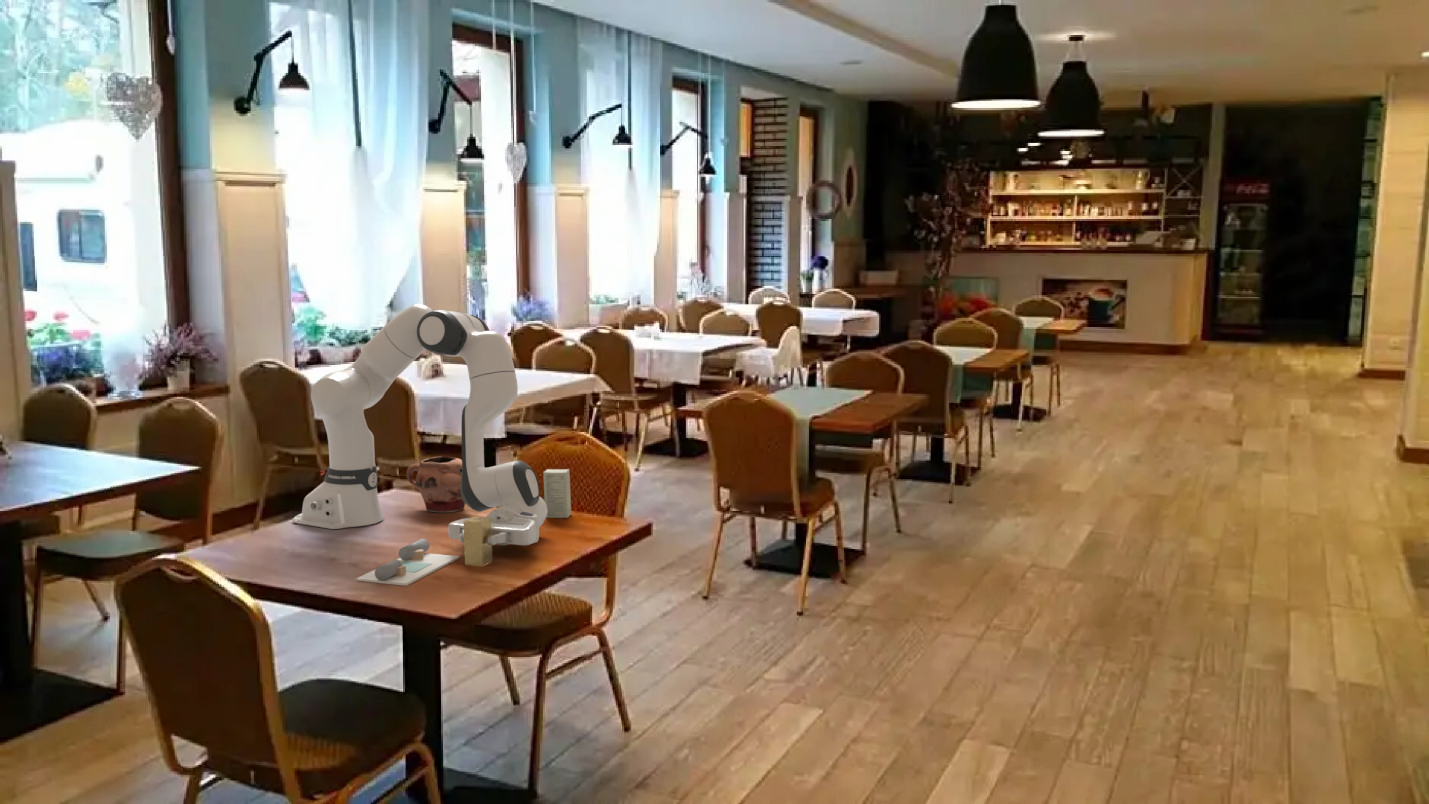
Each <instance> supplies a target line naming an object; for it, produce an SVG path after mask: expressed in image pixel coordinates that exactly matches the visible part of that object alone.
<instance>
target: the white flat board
mask: <svg viewBox="0 0 1429 804" xmlns="http://www.w3.org/2000/svg"><path fill="white" fill-rule="evenodd" d="M429 549H430V543H429V541H428V540H427V539H426V538H421V539H418V540H416V541H414V542H412V543H409V544H407V545H405V546H403V547H401V548H400V549H399V550H398V556H399V558H397V559H393V560H391V561H389V562H386V563H384V564H382V565H379V566H378V567H376V569H373V570H371V571H369V572H367V573H365V574H363V575H361V576H359V577H357V578H356V581H358V582H365V583H366V582H367V583H378V584H385V585H386V584H387V585H394V586H409V585H411V584H413V583H414V582H417V581H419V580H420V579H422V578H424V577H426V576H429V575H430V574H433V572H436V571H438V570H440V569H442V568H444V567H445V566H448V565H450V564H452V563H453V562H455V561H457V560H459V559H460V556H459V555H449V554H440V553H428V552H427V551H428V550H429ZM425 552H426V553H425ZM449 563H450V564H449Z"/></svg>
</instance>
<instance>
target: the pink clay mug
mask: <svg viewBox="0 0 1429 804" xmlns="http://www.w3.org/2000/svg"><path fill="white" fill-rule="evenodd" d="M414 472H417V474H416V476H415V482H414V480H413V478H412V475H413V473H414ZM405 474H406V479H407V481H408V482H409V483H410V484H411V485H412V486H414V487H415V488H416V489H417V491H419V493H420V495H421V497H422V499H423V502H424V504H425V509H426V510H427V511H429V512H433V513H452V512H453V513H454V512H458V511H461V510H463V509H465V506H466V504H465V503H464V501H463V500H462V497H461V493H460V484H461V477H462V458H457V457H450V456H434V457H428V458H426V459H422V460H421V461H420V462H419V463H412V464H411V465H409V466H408V468H407V470H406V473H405Z"/></svg>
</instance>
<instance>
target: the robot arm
mask: <svg viewBox="0 0 1429 804" xmlns="http://www.w3.org/2000/svg"><path fill="white" fill-rule="evenodd" d="M426 350H427V351H429V352H430V353H432V354H435V355H442V356H446V357H452V358H454V357H460V358H462V359H463V360H464V363H465V364H466V366H467V373H468V377H469V378H468V380H469V385H470V389H469V390H470V391H469V397H468V400H467V403H466V404H465V406H464V407H463V409H462V410H461V411H462V413H461V460H462V477H461V484H460V493H461V497H462V500H463V501H464V503H465V506H467V507H469V508H470V509H472V510H473V511H475V512H478V513H481V512H483V511H484V512H485V511H487V510H490V509H492V510H491V511H490V512H489V513H488V514H487V516H486V518H491V530H492V535H490V536H488V537H487V540H488V542H487V544H489V545H492V546H495V545H499V546H503V547H504V546H509V545H514V546H516V545H517V546H530V545H531V544H535V543H538V541H539V539H540V538H539V536H540V527H541V526H542V525H543V524H544V523H545V521H546V519H547V518H546V516H547V506H546V503H545V499H544V498H543V497H541V495H540V494H541V490H540V489H541V488H540V483H539V479H538V476H537V473H536V472H535V471H534V469H533V468H532V467H531V466H530V465H529V464H527V462H524V461H523V460H521V459H520V460H514V461H509V462H505V463H501V464H497V465H493V466H489V467H485V453H484V452H485V446H484V445H485V444H484V442H485V440H484V439H485V438H484V437H485V432H486V430H487V428H488V426H490V424H491V423H492V422H494V420H495V419H497V418H498V417H500V416H501V415H503V414H504V413H505V412H507V410H509V409H510V408H511V407H512V405H513V404H514V402H515V401H516V399H517V396H518V388H519V387H518V380H517V374H516V368H515V364H514V361H513V357H512V353H511V350H510V347H509V345H508V343H507V340H506V337H505V336H504V335H503V334H501V333H500V332H497V331H494V330H490V329H489V326H488V325H487V324H486V322H485V321H484V320H483V319H481V318H480V317H478V316H476V315H473V314H468V313H465V312H462V311H456V310H455V311H454V310H453V311H452V310H446V309H445V310H444V309H436V310H433V309H432V308H431V307H430V306H427V305H426V304H422V303H414V304H412V305H410V306H408V307H407V308H405V309H404V310H402V311H401V312H399V313H398V314H397V315H395V316H394V317H393V318H392V319H391V320H389V322H388V323H386V324H385V325H384V326H383V327H381V329H380V330H379V331H378V332H377V333H376V334H375V335H373V337H372V338H370V339H369V340H368V341H367V342H366V343H365V344H364V346H363V348H362V351H361V353H360V354H359V355H358V357H357V359H356V360H355V361H354V362H353V363H352V364H351V365H350V366H348V367H346V368H344V369H341V370H338V371H334V372H330V373H327V374H325V375H324V376H322V377H321V378H320V379H319V380H317V381H316V382H315V383H314V384H313V386H312V387H311V391H310V399H311V403H312V405H313V408H314V409H315V410H316V411H318V413H319V414H320V416H321V418H322V422H323V424H324V428H325V431H326V435H327V442H328V443H327V444H328V445H327V446H328V456H329V457H328V458H329V460H328V461H329V466H328V467H327V468H325V469H323V470H320V471H319V472H320V476H323V475H324V479H323V482H321V483H320V484H319V485H318V486H317V487H316V488H314V489H313V490H312V491H311V492H309V493H308V494H307V495H306V496H305V497H304V498H303V502H302V508H301V509H302V510H301V513H299V514H297V515H295V516H293V519H292V520H293V521H292V522H293V523H294V524H299V525H305V526H311V527H319V528H323V529H331V530H338V529H345V528H355V527H363V526H364V527H365V526H369V525H373V524H376V523H377V524H378V523H379V522H382V521H383V520H384V519H385V518H384V516H383V512H382V509H381V505H380V500H379V495H378V494H379V493H378V488H377V487H378V467H377V465H376V459H375V457H376V455H375V437H374V434H373V432H372V431H371V430H370V429H369V427H368V424H367V421H366V418H365V414H364V411H365V410H366V409H369V408H371V407H373V406H374V405H376V404H377V403H378V402H379V401H380V400H381V399H383V398H384V395H385V393H386V392H387V391H388V389H390V387H391V385H392V384H393V383H394V381H396V379H397V378H398V377H399V376H400V375H401V374H402V373H403V372H404V371H405V370H406V369H407V368H408V367H409V366H410V365H412V364H413V362H415V361H416V360H417V358H419V356H421V355H422V354H423V352H425V351H426ZM501 505H502V506H501ZM496 506H501V507H499V508H495V507H496ZM493 508H495V509H493ZM469 518H470V517H464V518H461V519H457V520H454V521H452V522H449V523H448V527H447V528H448V529H447V530H448V531H447V532H448V536H449V538H450V539H451V540H458V541H459V543H464V521H465V520H467V519H469ZM295 520H297V521H295Z"/></svg>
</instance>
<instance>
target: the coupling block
mask: <svg viewBox="0 0 1429 804" xmlns="http://www.w3.org/2000/svg"><path fill="white" fill-rule="evenodd" d="M468 518H469V519H467V520H465V521H464V542H463V544H464V546H463V547H464V565H465V566H470V565H471V566H470V567H472V566H473V567H481V566H483V567H485V566H486V565H485V564H487V563H489V564H490V563H492V562H493V545H489V544H487V542H488V540H487V537H488V536H490V535H492V530H491V518H487V517H483V516H482V517H481V516H472V517H468ZM491 561H492V562H491ZM484 565H485V566H484ZM487 565H488V564H487Z"/></svg>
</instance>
